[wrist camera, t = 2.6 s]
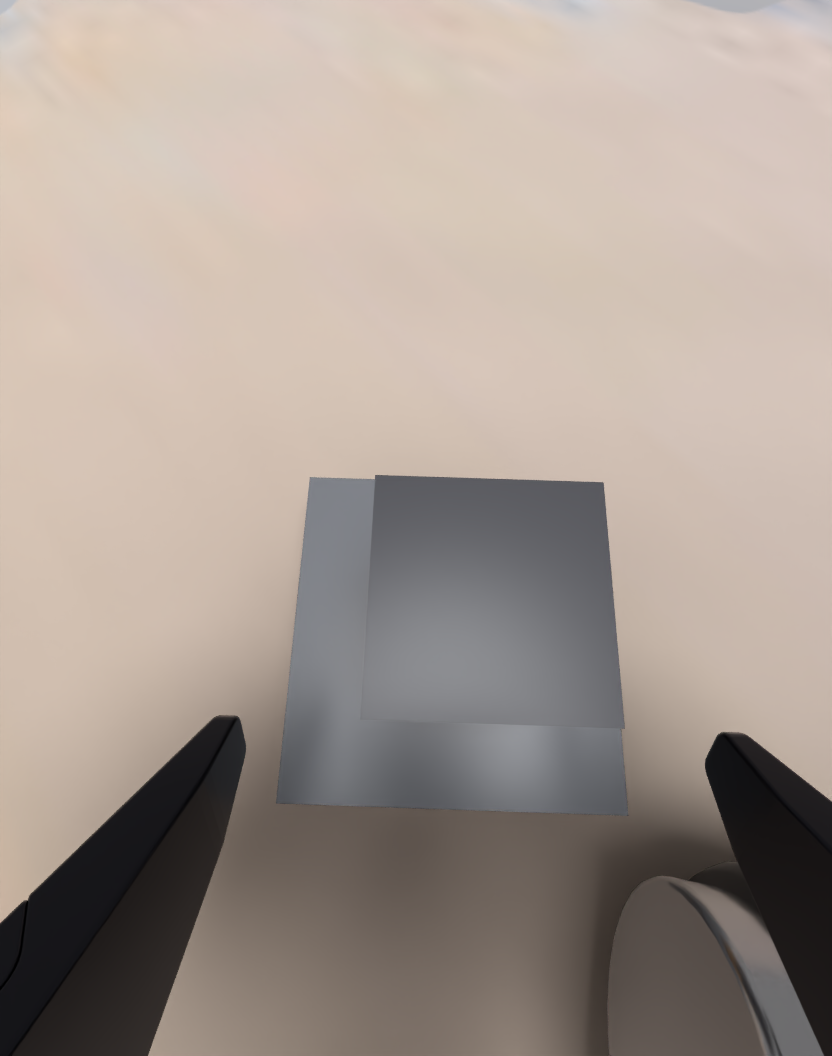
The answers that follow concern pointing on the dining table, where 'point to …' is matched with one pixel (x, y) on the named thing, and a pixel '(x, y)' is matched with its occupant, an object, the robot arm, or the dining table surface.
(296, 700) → the socket block
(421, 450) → the dining table surface
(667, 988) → the black cylindrical piece
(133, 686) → the dining table surface
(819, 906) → the robot arm
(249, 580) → the dining table surface
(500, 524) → the plug
